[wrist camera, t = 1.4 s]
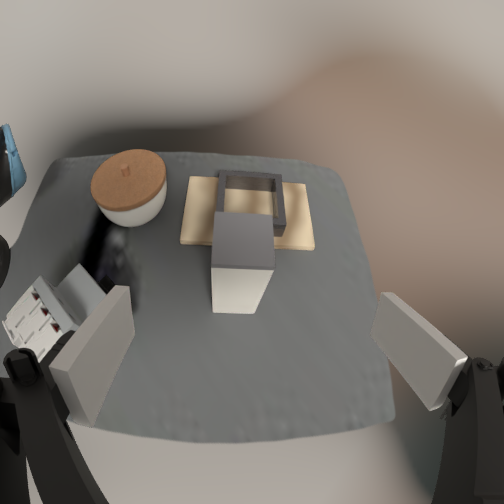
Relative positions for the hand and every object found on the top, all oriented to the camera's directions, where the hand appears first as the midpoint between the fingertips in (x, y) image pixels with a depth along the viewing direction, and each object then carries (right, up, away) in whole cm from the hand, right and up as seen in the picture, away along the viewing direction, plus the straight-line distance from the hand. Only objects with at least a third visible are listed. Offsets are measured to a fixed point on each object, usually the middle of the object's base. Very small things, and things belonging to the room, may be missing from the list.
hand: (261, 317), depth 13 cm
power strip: (-3, -3, +28) cm, 28 cm away
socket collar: (-1, +11, +34) cm, 36 cm away
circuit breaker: (-23, -9, +22) cm, 33 cm away
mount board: (-1, +10, +35) cm, 37 cm away
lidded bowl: (-21, +11, +33) cm, 41 cm away
